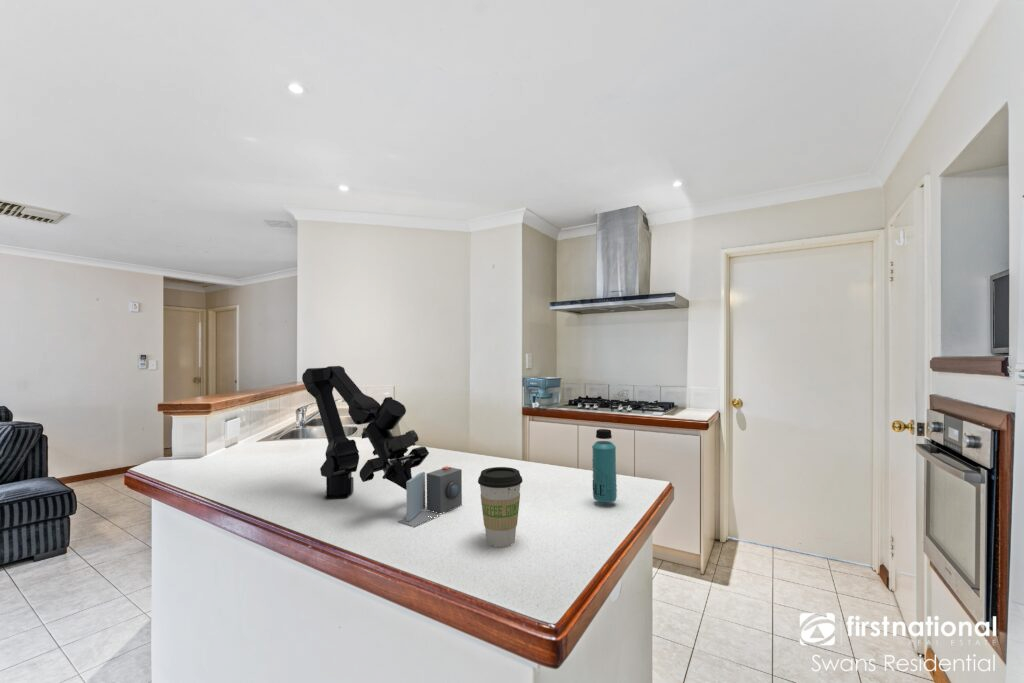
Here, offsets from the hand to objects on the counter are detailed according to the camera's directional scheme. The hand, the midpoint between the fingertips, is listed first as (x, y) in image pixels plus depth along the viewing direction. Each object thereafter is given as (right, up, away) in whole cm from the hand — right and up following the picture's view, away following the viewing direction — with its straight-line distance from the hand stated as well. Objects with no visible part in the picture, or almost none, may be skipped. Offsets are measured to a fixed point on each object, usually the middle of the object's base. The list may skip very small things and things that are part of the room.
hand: (411, 490), depth 112 cm
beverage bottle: (+50, -7, +9) cm, 51 cm away
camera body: (+5, -7, +3) cm, 9 cm away
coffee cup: (+23, -7, -14) cm, 27 cm away
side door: (+1, -6, +1) cm, 6 cm away
